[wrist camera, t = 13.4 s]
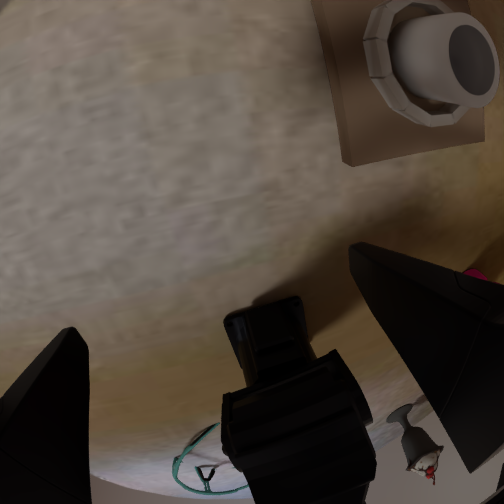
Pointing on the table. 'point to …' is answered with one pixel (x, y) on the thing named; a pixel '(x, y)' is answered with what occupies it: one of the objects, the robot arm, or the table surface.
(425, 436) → the sundae
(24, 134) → the table surface
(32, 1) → the table surface
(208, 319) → the table surface
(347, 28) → the mount board
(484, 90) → the lens
